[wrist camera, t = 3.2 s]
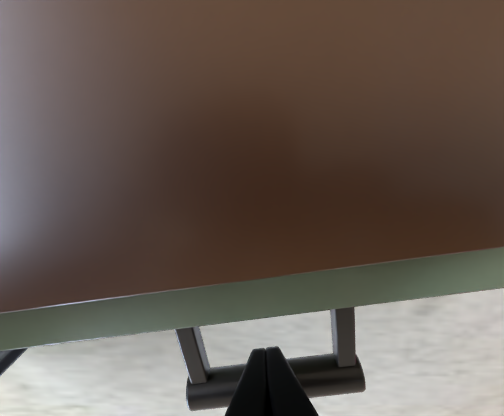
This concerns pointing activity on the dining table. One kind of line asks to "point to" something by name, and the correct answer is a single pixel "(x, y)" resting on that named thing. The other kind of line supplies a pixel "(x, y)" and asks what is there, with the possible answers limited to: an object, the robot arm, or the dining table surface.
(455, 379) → the dining table surface
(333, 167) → the cabinet
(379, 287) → the drawer
